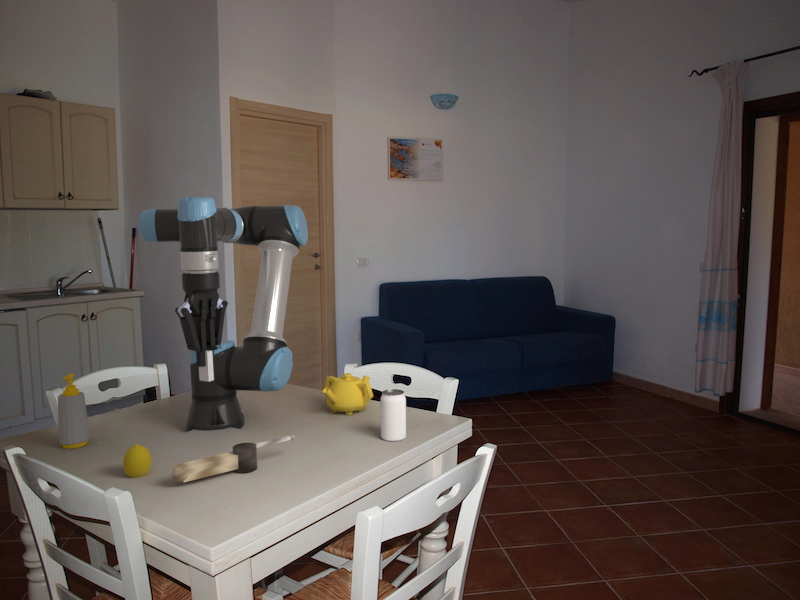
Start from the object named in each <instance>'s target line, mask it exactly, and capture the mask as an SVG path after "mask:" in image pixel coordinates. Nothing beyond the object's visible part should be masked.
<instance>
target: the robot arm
mask: <svg viewBox="0 0 800 600" xmlns="http://www.w3.org/2000/svg"><path fill="white" fill-rule="evenodd" d="M177 201H178V202H177V208H151V209H145V210H143V211H142V212H140V214H139V216H138V219H137V226H138V233H139V235H140V237H141V238H142V239H143V240H144V241H145V242H149V243H159V244H160V243H178V242H179V244H180V245H179V248H180V249H179V252H180V269H181V271H183V273H182V274H181V286H182V289H183V291H184V293H185V296H184V299H183V304H182V305H181V306H177V307H175V309H174V312H175V313H176V315H177V316H178V318H179V321H180V325H181V329H182V333H183V337H184V340H185V344H186V348H187V350H189V351H190V352H189V369H190V385H191V404H190V407H189V411H188V412H189V413H188V417H187V419H186V422H185V423H186V425H185V427H186V431H187V432H188V433H189V432H191V431H193V430H195V431H201V432H202V431H206V432H207V431H209V432H211V431H218V430H219V431H221V430H225V429H230V428H231V429H232V428H233V429H241V428H242V427H244V425H245V414H244V412H242V407H241V404H240V401H239V399H238V394H237V393H238V392H237V391H244V392H245V391H246V392H247V391H249V392H250V391H252V392H253V391H254V392H263V393H267V392H278V391H281V390H282V389H284V387H286V385H287V384H288V381H289V380H290V377H291V374H292V370H293V363H294V361H293V352H292V350H291V349H290V347H288V342H287V341H286V340H285V338H284V335H283V333H284V326H285V320H286V312H287V305H288V297H289V296H288V295H289V289H290V280H291V273H292V265H293V258H295V257H297V256H298V255H299V251H300V247H304V246H306V245H307V244H308V243H307V242H308V241H309V239H308V238H309V233H308V232H309V231H308V223H307V220H306V216H305V214H304V211H303V210H302V208H301V207H300V206H298V205H287V204H284V205H249V206H241V207H236V208H234V207H233V208H228V207H217V206H216V202H215V199H214V198H212V197H205V196H204V197H203V196H202V197H201V196H200V197H199V196H198V197H197V196H195V197H194V196H193V197H189V196H188V197H181V198H180V199H179V200H177ZM219 242H221V243H225V244H236V245H244V246H253V247H257V249H258V251H260V253H261V260H260V264H259V265H260V268H259V273H258V279H257V286H256V294H255V301H254V308H253V315H252V321H251V328H250V333H248V335H246V336H244V338H243V342H242V346H236V343H235V341H234V340H231V339H226V340H225V339H224V340H222V339H223V331H224V322H225V316H226V315H225V313H226V310H227V308H228V304H229V302H228V301H227V300H222V299H221V298H220V295H219V292H218V290H219V289H220V288H221V285H220V284H221V283H220V281H221V280H220V273H219V272H218V271H217V270H218V269H219V267H220V265H219V253H218V252H219V249H218V247H219V246H218V243H219Z"/></svg>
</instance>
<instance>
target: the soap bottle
mask: <svg viewBox="0 0 800 600" xmlns="http://www.w3.org/2000/svg"><path fill="white" fill-rule="evenodd" d="M74 376H75V373H69V374H68V375H65V376H64V377H63V378H62V380H63V381H66V383H67V385H66V386H65V388H64V390H63V391H62V393H61V394H59V395H58V396H57V417H58V418H57V419H58V421H57V422H58V424H57V425H58V443H59V444H60V445H61V447H62V449H66V450H67V449H69V450H70V449H71V450H72V449H78V448H81V447H84V446H86V445H88V441H89V440H90V438H91V436H90V427H89V420H88V413H87V405H86V396H85V392H83V391H80V389H79V388H77V386H76V384H73V382H74Z"/></svg>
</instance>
